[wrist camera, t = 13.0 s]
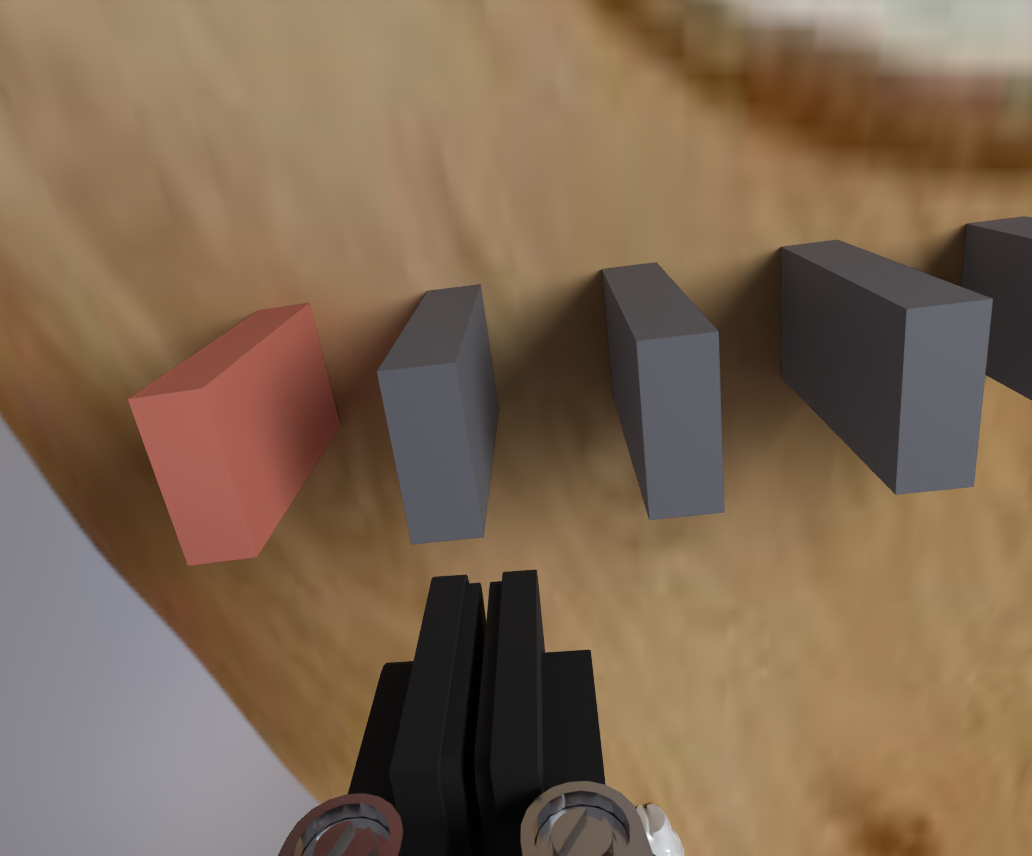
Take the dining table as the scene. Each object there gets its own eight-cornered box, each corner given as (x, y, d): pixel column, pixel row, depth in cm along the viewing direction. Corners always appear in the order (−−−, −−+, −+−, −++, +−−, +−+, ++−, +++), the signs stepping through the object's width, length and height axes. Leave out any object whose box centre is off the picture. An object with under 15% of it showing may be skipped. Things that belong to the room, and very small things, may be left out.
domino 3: (837, 239, 28) (992, 299, 18) (834, 371, 29) (973, 486, 20) (781, 246, 28) (906, 309, 18) (781, 377, 29) (895, 494, 20)
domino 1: (480, 284, 28) (455, 362, 19) (498, 410, 30) (483, 537, 21) (427, 291, 28) (376, 371, 19) (448, 415, 30) (411, 544, 21)
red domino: (309, 302, 29) (202, 388, 19) (340, 425, 31) (256, 557, 21) (257, 310, 29) (127, 399, 20) (292, 431, 31) (188, 565, 21)
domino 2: (656, 262, 28) (718, 331, 19) (664, 390, 30) (724, 512, 20) (601, 269, 28) (636, 341, 19) (612, 397, 30) (649, 520, 21)
